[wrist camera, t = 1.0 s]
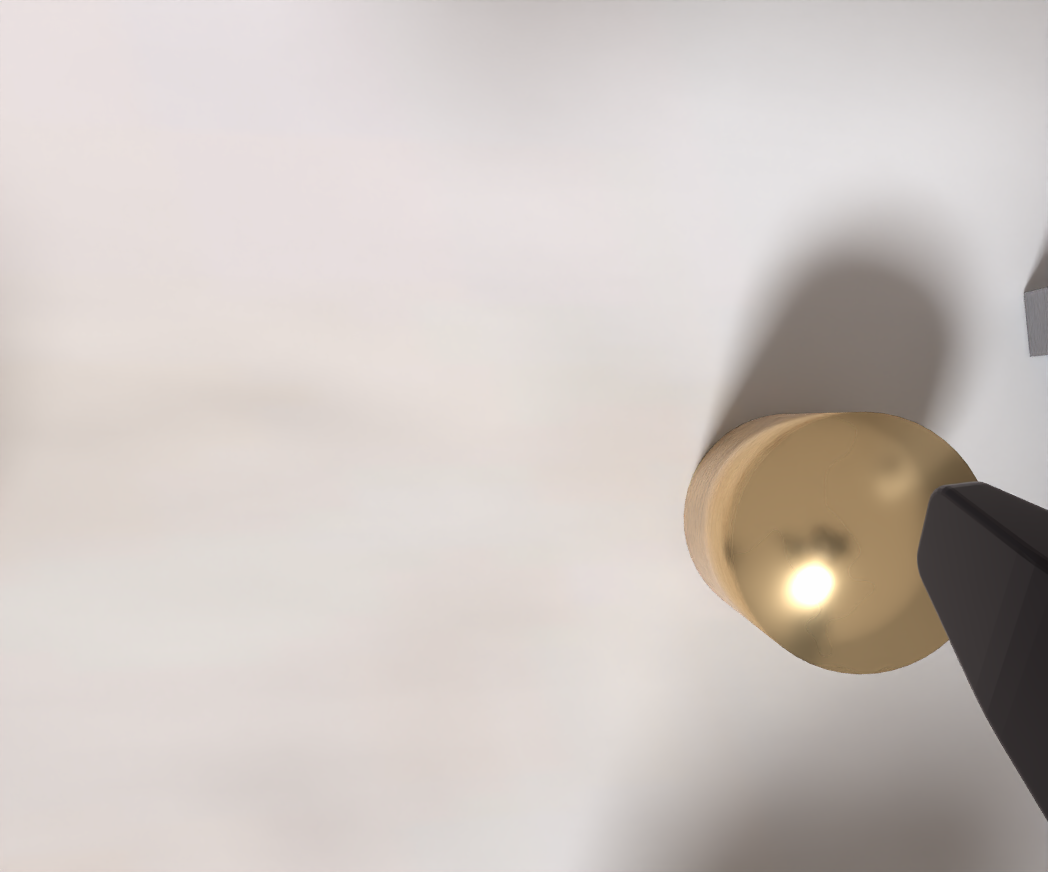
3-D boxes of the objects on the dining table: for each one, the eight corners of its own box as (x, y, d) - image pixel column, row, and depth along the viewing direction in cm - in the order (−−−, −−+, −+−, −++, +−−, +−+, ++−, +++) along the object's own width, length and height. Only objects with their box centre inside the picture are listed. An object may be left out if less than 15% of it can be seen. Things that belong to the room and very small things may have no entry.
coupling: (899, 608, 22) (1004, 657, 17) (695, 633, 22) (747, 688, 17) (878, 403, 22) (978, 398, 17) (673, 425, 22) (719, 426, 17)
